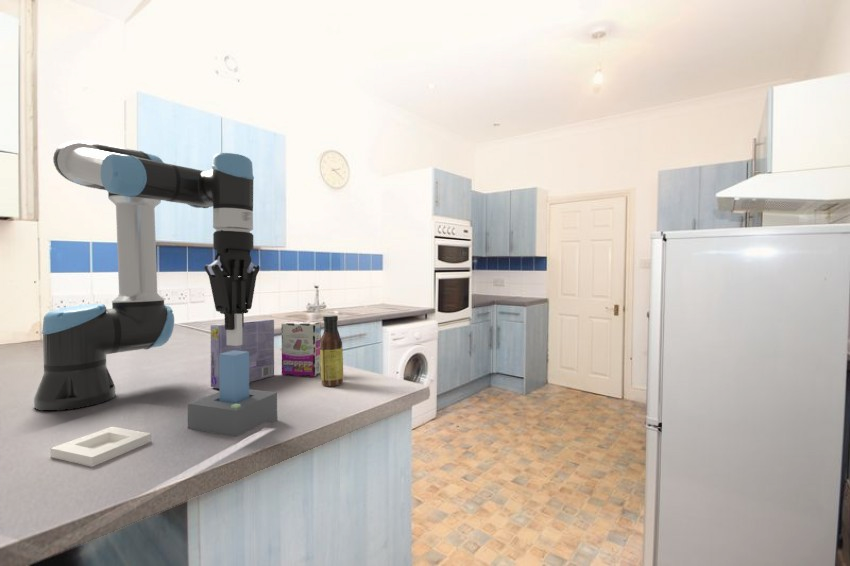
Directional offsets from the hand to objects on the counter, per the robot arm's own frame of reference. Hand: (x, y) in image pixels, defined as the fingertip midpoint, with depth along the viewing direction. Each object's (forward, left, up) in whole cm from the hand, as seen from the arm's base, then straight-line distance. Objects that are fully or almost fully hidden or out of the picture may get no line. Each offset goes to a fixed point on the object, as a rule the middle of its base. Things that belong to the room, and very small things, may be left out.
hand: (234, 344), depth 84 cm
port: (0, 0, -17) cm, 17 cm away
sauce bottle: (+3, +34, -17) cm, 38 cm away
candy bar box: (-12, +40, -17) cm, 45 cm away
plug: (0, 0, -16) cm, 16 cm away
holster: (-12, -18, -17) cm, 28 cm away
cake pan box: (-22, +28, -18) cm, 40 cm away
